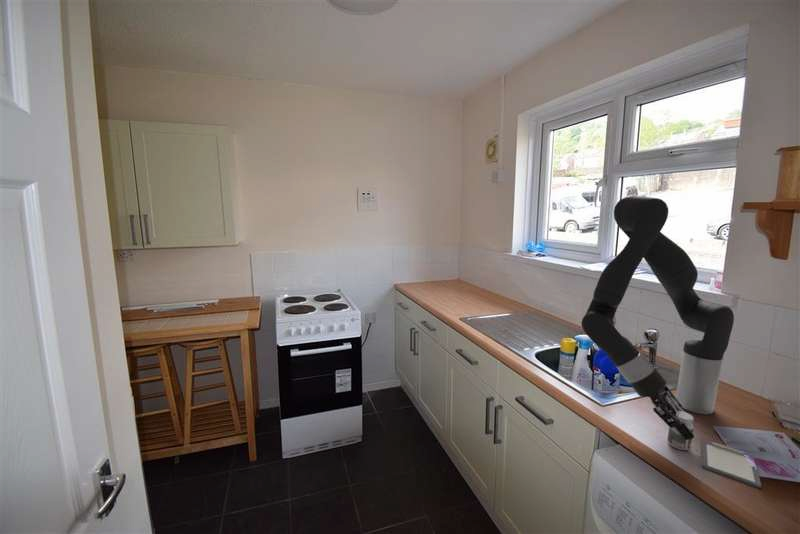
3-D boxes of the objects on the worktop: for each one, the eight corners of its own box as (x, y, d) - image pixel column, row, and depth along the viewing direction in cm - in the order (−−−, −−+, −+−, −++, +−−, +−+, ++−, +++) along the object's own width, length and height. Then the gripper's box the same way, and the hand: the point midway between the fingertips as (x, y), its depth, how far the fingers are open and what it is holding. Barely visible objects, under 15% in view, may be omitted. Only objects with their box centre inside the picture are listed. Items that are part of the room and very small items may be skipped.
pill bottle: (680, 438, 95) (685, 409, 93) (695, 450, 90) (700, 420, 88) (662, 438, 94) (667, 409, 93) (676, 450, 90) (681, 420, 88)
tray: (701, 442, 94) (701, 437, 94) (753, 459, 88) (754, 454, 88) (702, 467, 85) (702, 462, 85) (761, 488, 79) (762, 483, 78)
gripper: (651, 377, 88) (706, 442, 83) (655, 358, 99) (705, 414, 94) (623, 390, 92) (674, 452, 87) (630, 370, 103) (676, 425, 98)
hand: (690, 432), depth 90 cm, fingers closed on pill bottle, 4 cm apart
